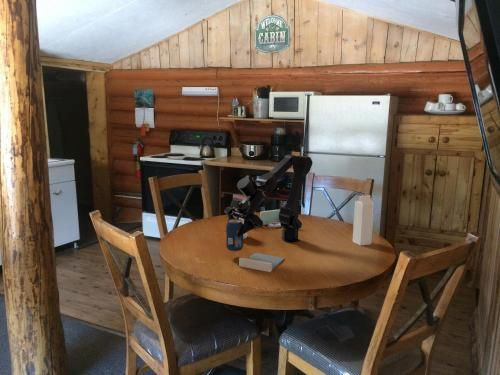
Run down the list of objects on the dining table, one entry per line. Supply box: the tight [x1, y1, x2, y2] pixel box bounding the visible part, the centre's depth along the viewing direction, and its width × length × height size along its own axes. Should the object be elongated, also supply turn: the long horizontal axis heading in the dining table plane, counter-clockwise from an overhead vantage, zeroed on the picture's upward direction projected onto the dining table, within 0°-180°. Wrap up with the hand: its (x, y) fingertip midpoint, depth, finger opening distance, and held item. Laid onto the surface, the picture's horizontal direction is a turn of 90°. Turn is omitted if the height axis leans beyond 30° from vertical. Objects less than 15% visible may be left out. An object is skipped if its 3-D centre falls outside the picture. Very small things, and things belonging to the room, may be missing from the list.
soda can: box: [225, 219, 244, 252], centre depth 167 cm, size 7×7×12 cm
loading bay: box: [238, 252, 285, 273], centre depth 163 cm, size 15×13×3 cm
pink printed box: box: [232, 193, 249, 212], centre depth 216 cm, size 11×7×15 cm, turn 40°
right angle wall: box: [259, 209, 282, 229], centre depth 211 cm, size 12×12×8 cm
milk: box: [352, 194, 375, 246], centre depth 186 cm, size 6×6×22 cm
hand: (232, 234), depth 166 cm, fingers closed on soda can, 7 cm apart
